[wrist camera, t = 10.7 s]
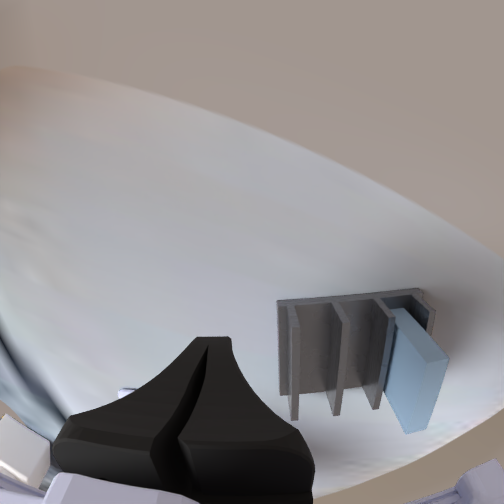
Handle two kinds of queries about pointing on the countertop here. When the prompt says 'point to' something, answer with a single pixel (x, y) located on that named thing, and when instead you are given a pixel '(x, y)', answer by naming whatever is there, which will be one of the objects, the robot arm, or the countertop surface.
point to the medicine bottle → (23, 452)
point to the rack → (341, 343)
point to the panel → (413, 373)
